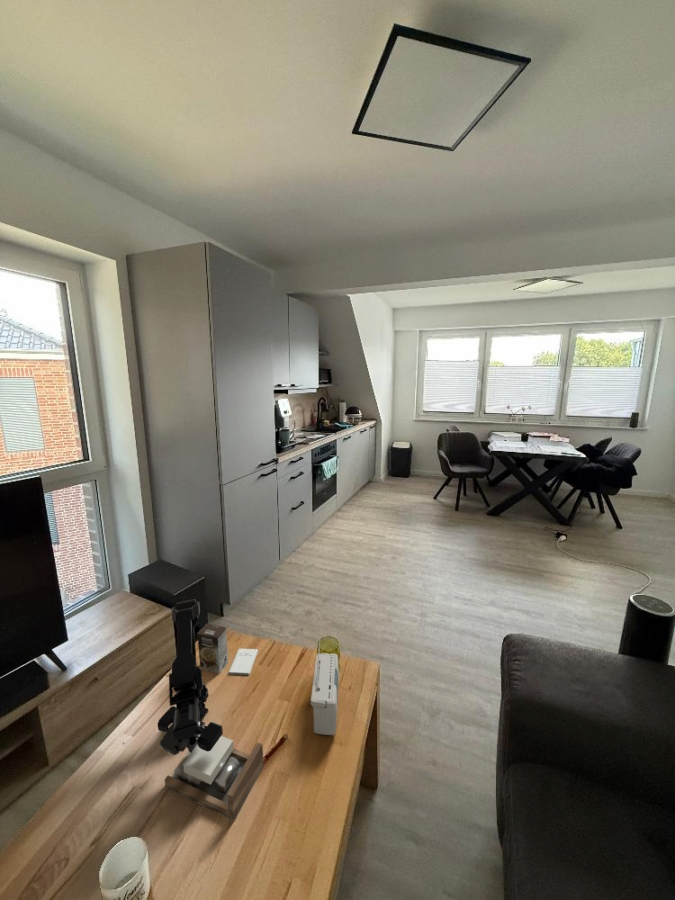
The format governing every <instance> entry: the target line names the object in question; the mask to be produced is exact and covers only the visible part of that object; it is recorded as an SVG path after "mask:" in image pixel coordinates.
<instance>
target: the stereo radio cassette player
mask: <svg viewBox="0 0 675 900" xmlns="http://www.w3.org/2000/svg"><path fill="white" fill-rule="evenodd" d="M320 643H321V639H318V653H317V654H316V655H315V656H316V657H315V664H314V672H313V679H312V688H311V696H310V705H311V706H312V709H313V733H314V734H317V735H325V736H335V735H336V733H337V724H338V723H337V722H338V721H337V720H338V702H339V701H338V698H339V676H340V675H339V669H340V667H339V666H340V665H339V656H338V654H336V653H330V654H329V653H328V652H327V653H326V652H325V653H320V650H321V649H320V647H321V644H320Z"/></svg>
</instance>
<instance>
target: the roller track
mask: <svg viewBox="0 0 675 900" xmlns="http://www.w3.org/2000/svg"><path fill="white" fill-rule="evenodd" d="M196 746H197V745H196ZM263 751H264V749H263V744H262V743H261V742H258V741H257V742H256V744H255V746H254V748H253V749H252V751H251V753H249V754H248V753H246V752H245V751H242V750H239V749H237V748H234V749H233V751H232V752H231V754H230V756H229V757H228V759H229V758H230V757H234V758H236V759H237V760H238V761H239V763H240V768H239V770H238V772H237V773H236V775H235V777H234V778H233V780H232V782H231V783H230V785H229V787H228V788H227V790H226V792H225V793H220V792H218V791H217V790H216V788H215V787H214V781H215V779H216V778H217V776H218V775H219V773H220V772H221V770H222V768H223V767H224V765H225V764H226V762H227V761H228V759H227V760H226V762H225V763H224V765H223V766H222V768H221V770H220V771H219V773H218V774H217V776H216V777H215V779H214V781H213V782H212V784H211V785H210V784H208V783H206V782H204V781H202V780H200V779H197V778H195V777H193V776H191V775H189V774H187V773H185V772H184V766H183V763H184V762H185V760H186V759H187V758H188V756H189V755H190V754H191V753H190V752H189V751H188V752H187V753H186V755H185V756H184V757H183V759H182V760H181V761H180V763H179V764H178V765H177V767H176V768H175V769H174V773H173V774H172V775H171V776H170V775H167V776H166V777H165V778H164V784H165V785H164V787H165V788H167V789H168V790H170V791H173V792H175V793H177V794H179V795H181V796H183V797H184V798H187V799H189V800H191V801H193V802H195V803H197V804H199V805H201V806H203V807H205V808H207V809H210V810H211V811H212V812H213V811H214V812H215V813H217V814H219V815H221V816H223V817H225V818H227V819H229V820H232V821H233V822H235V821H236V819H237V817H238V815H239V813H240V812H241V810H242V808H243V806H244V804H245V802H246V800H247V799H248V797H249V795H250V793H251V791H252V790H253V787H254V785H255V784H256V782H257V780H258V778H259V775H261V772H262V770H263V768H264V752H263Z"/></svg>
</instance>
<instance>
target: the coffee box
mask: <svg viewBox="0 0 675 900" xmlns="http://www.w3.org/2000/svg"><path fill="white" fill-rule="evenodd" d="M196 635H197V647H198V648H197V649H198V658H199V659H198V660H199V668H200V669H201V670H203V671H208V672H211V673H214V674H221V673H222V671H223V670H224V669H225V668H226V667H227V665H228V664H229V653H228V651H229V650H228V638H227V627H226V626H222V625H216V624H212V623H206V624H205V625H204V626H203V627H202V628H200V630H199V631H198V632H197V633H196Z"/></svg>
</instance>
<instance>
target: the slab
mask: <svg viewBox="0 0 675 900" xmlns="http://www.w3.org/2000/svg"><path fill="white" fill-rule="evenodd" d="M233 749H235V747H234V740H233V739H230V738H228V737H225V736H223V735H221V737H220V738H219V740H218V741H217V742H216V744H215V745H214V747H213V748H212V749H211V751H208V752H207V751H205V750H202V749H200V748H199V746H198V744H197V746H196V747H195V748H194V750H193V751H192V752H191V754H190V755H189V756H188V758H187V759H186V760H185V762H184V763H183V766H184V772H185V773H187V774H189V775H191V776H193V777H195V778H197V779H200V780H202V781H204V782H206V783H208V784H210V785H211V784H212V782H213V781H214V779H215V777H216V776H217V774H218V773H219V771H220V770H221V768H222V766H223V765H224V763H225V762H226V760H227V759H228V757H229V756H230V754H231V752H232V751H233Z"/></svg>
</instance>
